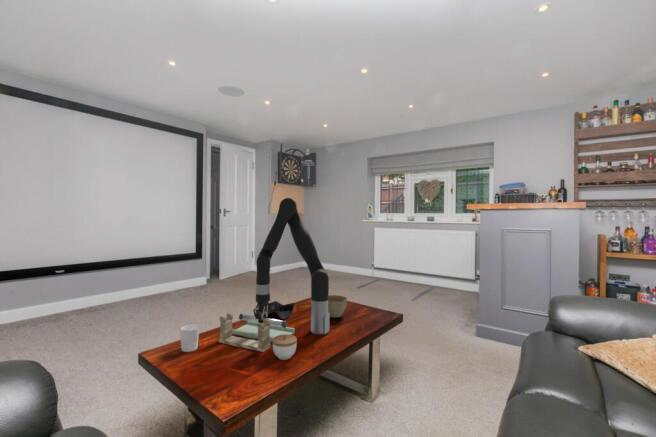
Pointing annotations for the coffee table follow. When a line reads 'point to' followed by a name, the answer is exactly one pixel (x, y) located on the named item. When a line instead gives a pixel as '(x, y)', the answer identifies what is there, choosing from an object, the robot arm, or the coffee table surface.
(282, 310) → the grey mechanical device
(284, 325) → the steel rod
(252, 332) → the mat tray
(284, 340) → the lidded jar
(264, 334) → the rack
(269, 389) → the coffee table surface
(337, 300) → the planter bowl
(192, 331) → the white cup
